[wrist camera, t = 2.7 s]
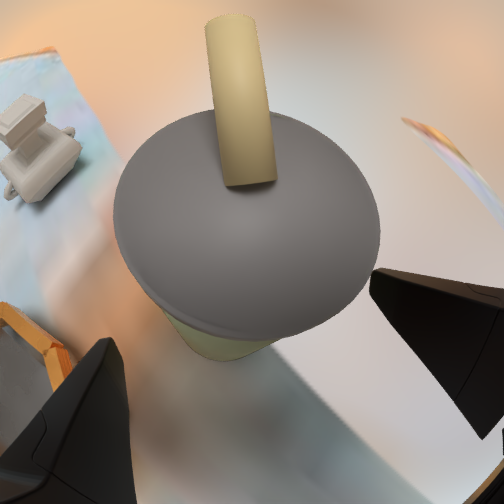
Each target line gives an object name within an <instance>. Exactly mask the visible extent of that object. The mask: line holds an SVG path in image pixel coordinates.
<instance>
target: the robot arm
mask: <svg viewBox="0 0 504 504" xmlns="http://www.w3.org/2000/svg"><path fill="white" fill-rule="evenodd" d="M369 293H370V296H371V297H372V299H373V300H374V302H375V303H376V304H377V306H378V307H379V309H380V310H381V311H382V313H383V314H384V316H385V317H386V318H387V320H388V321H389V322H390V324H391V325H392V326H393V328H394V329H395V330H396V331H397V332H398V334H399V335H400V336H401V337H402V338H403V339H404V341H405V342H406V343H407V344H408V345H409V347H410V348H411V349H412V350H413V351H414V352H415V354H416V355H417V356H418V357H419V358H420V360H421V361H422V362H423V363H424V365H425V366H426V367H427V368H428V370H429V371H430V372H431V373H432V375H433V376H434V377H435V378H436V380H437V381H438V382H439V384H440V385H441V386H442V387H443V389H444V390H445V391H446V392H447V394H448V395H449V396H450V398H451V399H452V400H453V401H454V403H455V405H456V406H457V407H458V409H459V410H460V411H461V413H462V414H463V415H464V417H465V418H466V419H467V421H468V422H469V424H470V425H471V426H472V428H473V429H474V430H475V432H476V433H477V435H478V436H479V438H480V439H481V440H483V439H484V438H485V437H486V436H487V435H488V433H489V432H490V431H491V430H492V429H493V428H494V427H495V425H496V424H497V423H498V422H499V421H500V419H501V418H502V417H503V416H504V289H503V288H494V287H488V286H481V285H475V284H470V283H463V282H459V281H453V280H448V279H441V278H436V277H431V276H426V275H420V274H414V273H409V272H403V271H397V270H391V269H386V268H379V269H376V270H373V271H372V273H371V277H370V286H369ZM502 435H503V455H504V428H503V429H502ZM0 504H137V500H136V493H135V486H134V478H133V469H132V459H131V447H130V432H129V408H128V398H127V390H126V382H125V373H124V363H123V359H122V356H121V354H120V352H119V350H118V348H117V346H116V344H115V342H114V340H113V339H112V338H111V337H108V338H102V339H99V340H98V341H97V342H96V344H95V345H94V346H93V347H92V348H91V349H90V350H89V351H88V353H87V354H86V355H85V356H84V357H83V358H82V359H81V361H80V362H79V363H78V364H77V365H76V366H75V368H74V369H73V370H72V371H71V372H70V373H69V375H68V376H67V377H66V378H65V379H64V381H63V382H62V383H61V384H60V385H59V387H58V388H57V389H56V390H55V391H54V393H53V394H52V395H51V396H50V398H49V399H48V400H47V401H46V403H45V404H44V405H43V406H42V408H41V410H39V411H38V413H37V414H36V415H35V416H34V418H33V419H32V420H31V421H30V423H29V424H28V425H27V426H26V428H25V429H24V430H23V431H22V432H21V433H20V434H19V436H18V437H17V438H16V439H15V440H14V441H13V442H12V443H11V445H10V446H9V447H8V448H7V449H6V450H5V451H4V452H3V454H2V455H1V456H0ZM463 504H504V459H503V460H502V461H501V462H500V464H499V465H498V466H497V467H496V468H495V470H494V471H493V472H492V473H491V474H490V476H489V477H488V478H487V479H486V480H485V481H484V482H483V483H482V484H481V486H480V487H479V488H478V489H477V490H476V491H475V492H474V493H473V494H472V495H471V496H470V497H469V498H468V499H467V500H466V501H465V502H464V503H463Z"/></svg>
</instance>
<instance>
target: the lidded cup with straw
mask: <svg viewBox="0 0 504 504" xmlns="http://www.w3.org/2000/svg"><path fill="white" fill-rule="evenodd" d="M205 36H206V45H207V54H208V62H209V71H210V79H211V87H212V95H213V103H214V110H208V111H203V112H200V113H195V114H193V115H190V116H187V117H184V118H181V119H179V120H177V121H175V122H173V123H171V124H169V125H167V126H166V127H164V128H162V129H161V130H159V131H158V132H156V133H155V134H154V135H153V136H152V137H150V138H149V139H148V140H147V141H146V142H145V143H144V144H143V145H142V146H141V147H140V148H139V149H138V150H137V151H136V153H135V154H134V155H133V156H132V158H131V159H130V160H129V162H128V164H127V165H126V167H125V169H124V171H123V173H122V175H121V178H120V180H119V183H118V186H117V189H116V194H115V199H114V210H113V221H114V229H115V236H116V239H117V243H118V246H119V249H120V252H121V255H122V257H123V259H124V261H125V263H126V265H127V267H128V269H129V270H130V272H131V273H132V275H133V276H134V277H135V279H136V280H137V282H138V283H139V284H140V286H141V287H142V289H143V290H144V291H145V293H146V294H147V295H148V296H149V297H150V298H151V299H152V300H153V301H154V302H155V303H156V304H157V305H158V306H159V307H160V308H161V309H162V310H163V312H164V313H165V315H166V316H167V317H168V319H169V320H170V322H171V323H172V324H173V326H174V327H175V328H176V330H177V331H178V332H179V334H180V335H181V336H182V338H183V339H184V340H185V342H186V343H187V344H188V345H189V346H190V347H191V348H192V349H193V350H194V351H195V352H197V353H198V354H200V355H202V356H204V357H206V358H209V359H212V360H216V361H231V360H236V359H239V358H242V357H244V356H246V355H249V354H251V353H253V352H255V351H257V350H259V349H261V348H263V347H266V346H268V345H270V344H272V343H274V342H276V341H278V340H280V339H282V338H285V337H290V336H294V335H297V334H299V333H302V332H304V331H306V330H309V329H311V328H313V327H315V326H317V325H319V324H321V323H323V322H325V321H326V320H328V319H330V318H331V317H333V316H335V315H336V314H338V313H339V312H340V311H341V310H343V309H344V308H345V307H346V306H347V305H348V304H350V303H351V302H352V301H353V300H354V298H355V297H356V296H357V295H358V294H359V292H360V291H361V290H362V289H363V287H364V286H365V284H366V282H367V280H368V279H369V277H370V275H371V273H372V270H373V268H374V265H375V263H376V259H377V255H378V251H379V245H380V221H379V215H378V210H377V206H376V202H375V199H374V196H373V194H372V191H371V189H370V187H369V185H368V183H367V181H366V179H365V177H364V176H363V174H362V173H361V171H360V170H359V168H358V167H357V165H356V164H355V163H354V162H353V161H352V159H351V158H350V157H349V156H348V155H347V154H346V153H345V152H344V151H343V150H342V149H341V148H340V147H339V146H338V145H337V144H335V143H334V142H333V141H332V140H331V139H329V138H328V137H327V136H325V135H324V134H322V133H320V132H319V131H318V130H316V129H314V128H312V127H310V126H309V125H307V124H305V123H303V122H300V121H298V120H296V119H293V118H291V117H288V116H285V115H281V114H279V113H274V112H270V111H269V106H268V99H267V92H266V86H265V78H264V72H263V66H262V60H261V53H260V47H259V42H258V36H257V30H256V25H255V20H254V19H253V18H251V17H249V16H247V15H242V14H228V15H223V16H219V17H216V18H214V19H212V20H210V21H209V22H208V23H207V24H206V25H205Z"/></svg>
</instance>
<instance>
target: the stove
mask: <svg viewBox="0 0 504 504" xmlns="http://www.w3.org/2000/svg"><path fill="white" fill-rule="evenodd" d="M63 347H64V345H63V344H62V343H60V342H59V341H58V340H56V339H55V338H54V337H52V336H51V335H50V334H48V333H47V332H46V331H45V330H43V329H42V328H41V327H40V326H38V325H37V324H36V323H35V322H34V321H32V320H31V319H30V318H29V317H28V316H26V315H25V314H24V313H23V312H22V311H21V310H20V309H18V308H17V307H14V306H12V305H10V304H8V303H7V302H6V303H5V302H3V301H2V302H0V456H1V455H2V454H3V452H4V451H5V450H6V449H7V448H8V447H9V446H10V445H11V443H12V442H13V441H14V440H15V439H16V438H17V437H18V436H19V434H20V433H21V432H22V431H23V430H24V429H25V428H26V426H27V425H28V424H29V423H30V421H31V420H32V419H33V418H34V416H35V415H36V414H37V413H38V411H39V410H41V408H42V406H43V405H44V404H45V403H46V401H47V400H48V399H49V398H50V396H51V395H52V394H53V393H54V391H55V390H56V389H57V388H58V387H59V385H60V384H61V383H62V382H63V381H64V379H65V378H66V377H67V376H68V375H69V373H70V372H71V371H72V370H73V369H72V365H71V362H70V358H69V355H68V351H67V350H65V349H63Z"/></svg>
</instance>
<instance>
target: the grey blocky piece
mask: <svg viewBox="0 0 504 504" xmlns="http://www.w3.org/2000/svg"><path fill="white" fill-rule="evenodd" d="M45 114H47V111H46V107H45V103H44V101H43V100H40V99H38V98H35V97H32V96H29V95H26V94H23V95H22V96H21V97H19V98H18V99H17V100H16V101H15V102H14V103H12V104H11V105H10V106H9V107H8V108H7V109H6V110H5V111H4V112H3V113H2V114H0V140H2V141H3V142H4V143H5V144H6V145H7V146H8V147H9V148H10V149H11V150H12V151H11V152H10V153H9V154H8V155H7V156H6V157H5V158H4V159H3V160H2V161H1V162H0V170H1V172H2V174H3V175H4V176H5V178H6V179H7V180H8V181H9V182H8V184H7V186H6V187H5V189H4V198H5V199H6V200H8V201H9V200H12V199H14V198H15V197H16V196H17V195H18V194H19V195H20V196H21V197H22V198H23V200H24V201H25V202H26V203H33V202H36V201H41V200H42V199H43V198H44V197H45V196H46V195H47V194H48V193H49V192H50V191H51V190H52V189H53V188H54V186H55V185H56V184H57V183H58V182H59V181H60V180H61V179H62V178H63V177H64V176H65V175H66V174H67V173H68V172H69V171H70V170H72V169H73V168H74V164H75V162H76V160H77V158H78V156H79V154H80V152H81V150H82V147H81V145H80V143H79V142H77V141H76V140H75V139H73V138H74V135H75V129H74V128H72V127H67V128H65V129H62V130H59V129H57V128H56V127H54V126H53V125H51V124H49V123H48V122H46V119H45V116H44V115H45ZM12 188H14V190H13V191H12Z"/></svg>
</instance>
